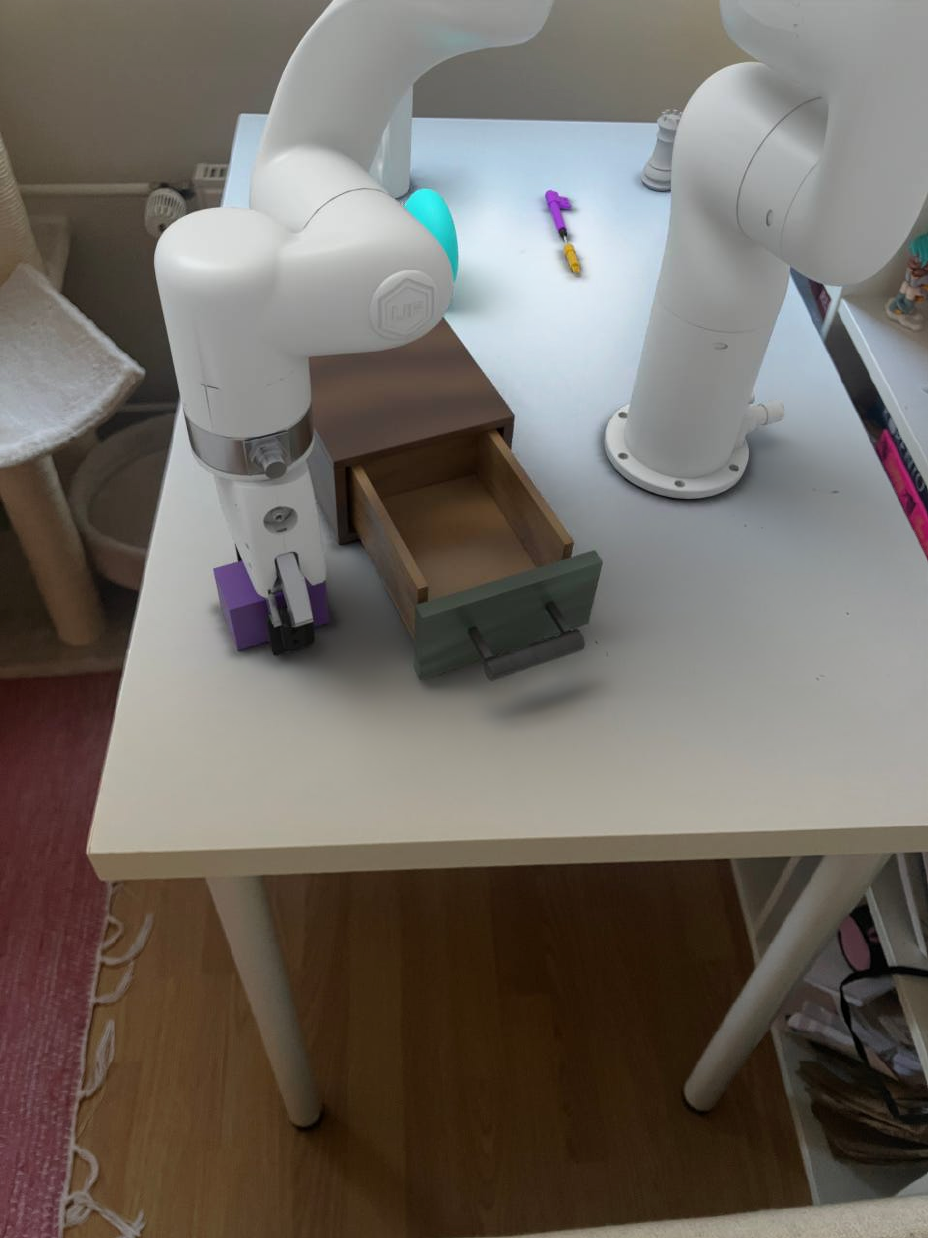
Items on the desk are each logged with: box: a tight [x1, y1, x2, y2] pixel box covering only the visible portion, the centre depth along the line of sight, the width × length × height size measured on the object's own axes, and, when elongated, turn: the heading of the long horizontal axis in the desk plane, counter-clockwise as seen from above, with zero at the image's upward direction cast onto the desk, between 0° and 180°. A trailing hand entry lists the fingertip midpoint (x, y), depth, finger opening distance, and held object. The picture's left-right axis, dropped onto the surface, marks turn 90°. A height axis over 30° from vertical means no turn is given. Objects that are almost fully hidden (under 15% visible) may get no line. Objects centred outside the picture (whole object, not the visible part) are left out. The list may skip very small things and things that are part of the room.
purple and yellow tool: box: [544, 189, 581, 274], centre depth 110 cm, size 3×1×16 cm
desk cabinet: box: [306, 316, 516, 545], centre depth 84 cm, size 19×15×9 cm
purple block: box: [212, 560, 330, 651], centre depth 73 cm, size 7×4×5 cm, turn 114°
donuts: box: [403, 188, 460, 283], centre depth 98 cm, size 10×10×10 cm
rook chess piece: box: [640, 109, 683, 192], centre depth 116 cm, size 4×4×8 cm
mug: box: [369, 84, 414, 199], centre depth 110 cm, size 10×7×12 cm, turn 7°
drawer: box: [345, 429, 604, 682], centre depth 74 cm, size 22×14×7 cm, turn 24°
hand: (277, 609), depth 74 cm, fingers open, 6 cm apart
